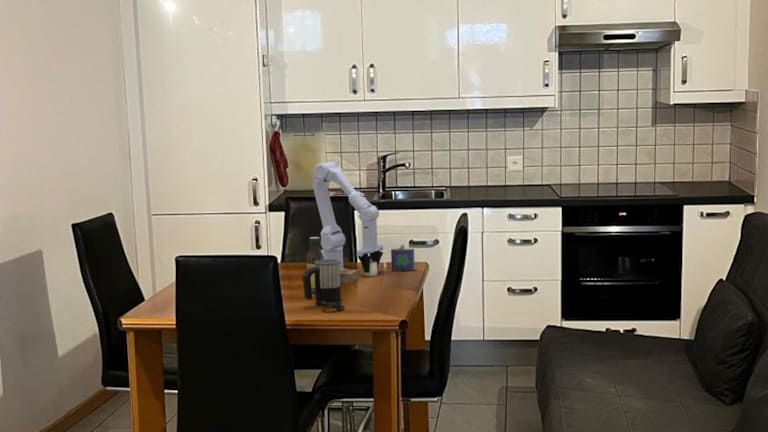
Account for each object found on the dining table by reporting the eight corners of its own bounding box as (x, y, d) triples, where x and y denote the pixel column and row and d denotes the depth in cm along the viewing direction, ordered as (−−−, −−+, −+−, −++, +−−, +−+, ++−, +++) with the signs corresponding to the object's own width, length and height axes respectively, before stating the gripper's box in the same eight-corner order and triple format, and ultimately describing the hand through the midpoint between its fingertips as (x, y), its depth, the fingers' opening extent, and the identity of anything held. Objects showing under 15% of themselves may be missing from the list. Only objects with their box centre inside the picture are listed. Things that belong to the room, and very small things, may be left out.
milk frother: (328, 299, 323) (326, 257, 321) (362, 304, 313) (360, 262, 311) (300, 307, 312) (297, 264, 310) (334, 313, 302) (332, 269, 300)
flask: (414, 269, 367) (413, 243, 365) (414, 271, 364) (413, 244, 363) (391, 270, 368) (390, 244, 366) (391, 271, 365) (390, 245, 363)
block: (331, 283, 348) (330, 273, 348) (339, 279, 356) (339, 269, 355) (351, 284, 345) (350, 274, 345) (358, 280, 353) (358, 269, 352)
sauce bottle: (322, 293, 332) (320, 239, 329) (306, 292, 333) (303, 239, 330) (327, 289, 338) (324, 236, 335) (311, 288, 339) (308, 236, 336)
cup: (362, 275, 360) (361, 262, 359) (370, 272, 364) (369, 260, 363) (372, 276, 357) (371, 263, 356) (380, 274, 361) (379, 261, 360)
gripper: (366, 240, 350) (368, 275, 352) (388, 235, 362) (390, 268, 364) (352, 239, 354) (353, 273, 356) (374, 233, 366) (375, 267, 368)
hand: (371, 271), depth 360 cm, fingers closed on cup, 5 cm apart
